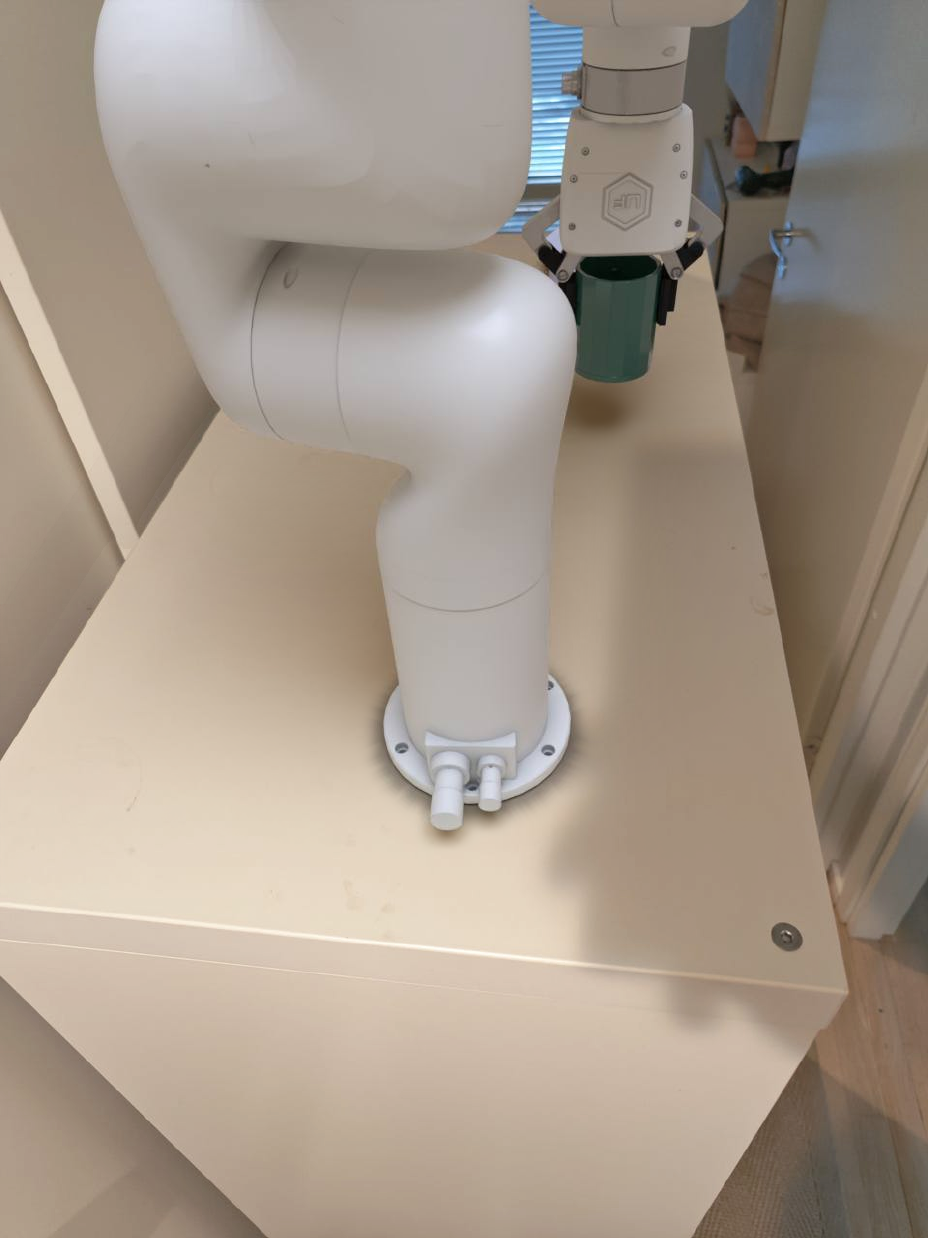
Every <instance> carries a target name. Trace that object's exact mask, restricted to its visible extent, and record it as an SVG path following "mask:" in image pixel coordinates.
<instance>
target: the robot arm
mask: <svg viewBox="0 0 928 1238" xmlns="http://www.w3.org/2000/svg"><path fill="white" fill-rule="evenodd" d="M748 3H749V0H104V1H103V4H102V7H101V9H100V13H99V16H98V20H97V25H96V31H95V36H94V47H93V81H94V82H93V83H94V94H95V95H94V96H95V107H96V113H97V118H98V125H99V128H100V133H101V138H102V142H103V143H102V144H103V147H104V150H105V153H106V156H107V160H108V163H109V166H110V169H111V172H112V175H113V177H114V180H115V182H116V185H117V187H118V190H119V192H120V195H121V197H122V200H123V202H124V205H125V208H126V209H127V212H128V215H129V217H130V219H131V222H132V224H133V227H134V228H135V230H136V233H137V236H138V237H139V240H140V242H141V244H142V247H143V249H144V251H145V254H146V255H147V258H148V260H149V263H150V265H151V267H152V270H153V271H154V274H155V276H156V278H157V281H158V283H159V286H160V288H161V290H162V292H163V295H164V296H165V299H166V301H167V304H168V306H169V309H170V310H171V313H172V315H173V317H174V319H175V322H176V324H177V327H178V328H179V331H180V334H181V336H182V338H183V340H184V342H185V345H186V347H187V349H188V352H189V354H190V356H191V358H192V360H193V362H194V365H195V366H196V369H197V371H198V374H199V375H200V377H201V380H202V381H203V383H204V385H205V387H206V389H207V391H208V392H209V394H210V396H211V397H212V399H213V401H215V403H216V405H218V407H219V408H220V410H221V411H222V412H223V413H224V415H226V416H227V417H228V418H229V419H230V420H231V421H232V422H233V423H235V424H236V425H237V426H238V427H240V428H241V429H243V430H245V431H247V432H249V433H251V434H253V435H256V436H259V437H262V438H266V439H269V440H273V441H278V442H283V443H289V444H294V445H299V446H304V447H311V448H317V449H324V450H329V451H336V452H341V453H347V454H353V455H360V456H364V457H366V458H369V459H376V460H381V461H386V462H391V463H394V464H396V465H399V466H401V467H403V468H405V469H406V471H405V472H404V473H403V474H402V475H401V476H400V478H399V479H398V480H397V481H396V482H395V484H394V485H393V486H392V487H391V489H390V490H389V492H388V493H387V495H386V497H385V499H384V500H383V503H382V504H381V506H380V509H379V512H378V516H377V520H376V523H375V524H376V525H375V547H376V554H377V555H376V556H377V560H378V566H379V570H380V577H381V583H382V589H383V594H384V601H385V606H386V607H385V608H386V613H387V619H388V625H389V630H390V637H391V642H392V648H393V655H394V661H395V667H396V672H397V678H398V684H397V686H396V687H395V688H394V690H393V692H392V693H391V694H390V697H389V699H388V701H387V703H386V706H385V710H384V716H383V721H382V722H383V723H382V725H383V726H382V727H383V737H384V741H385V745H386V750H387V753H388V756H389V757H390V760H391V761H392V763H393V765H394V766H395V768H396V769H397V770H398V771H399V773H400V774H401V775H402V777H404V778H405V779H406V780H407V781H408V782H409V783H411V784H412V785H413V786H414V787H416V788H417V789H419V790H421V791H422V792H425V793H426V794H429V795H430V796H431V803H430V813H429V823H430V825H431V826H432V827H433V828H435V829H438V830H441V831H453V830H458V829H460V828H461V827H462V825H463V821H464V820H463V818H464V805H465V804H467V805H469V804H471V805H472V804H473V805H474V804H477V805H478V807H479V809H480V810H482V811H484V812H497V811H498V810H500V809H501V807H502V801H506V800H509V799H512V798H513V797H517V796H519V795H522V794H524V793H526V792H528V791H529V790H531V789H533V788H535V787H536V786H538V785H539V784H541V783H542V782H543V781H544V780H546V778H547V777H548V776H550V775H551V774H552V773H553V772H554V770H555V769H556V767H557V766H558V765H559V764H560V762H561V761H562V759H563V757H564V755H565V753H566V750H567V748H568V745H569V740H570V736H571V721H572V716H571V711H570V704H569V702H568V699H567V696H566V694H565V692H564V690H563V688H562V687H561V685H560V684H559V682H558V681H557V680H556V678H554V676H553V675H551V674H550V672H549V670H550V667H549V666H550V665H549V664H550V627H551V626H550V622H551V621H550V620H551V584H552V583H551V581H552V580H551V579H552V578H551V576H552V531H553V530H552V529H553V528H552V527H553V526H552V525H553V506H554V505H553V504H554V493H555V492H554V491H555V480H556V473H557V465H558V459H559V453H560V446H561V441H562V435H563V430H564V425H565V421H566V415H567V411H568V407H569V401H570V397H571V392H572V388H573V382H574V377H575V371H574V370H575V363H576V356H577V328H576V322H575V317H574V313H575V290H576V281H575V272H573V271H574V270H575V268H576V266H577V265H578V263H579V261H580V259H581V258H582V256H633V255H653V256H656V255H657V256H658V255H659V256H660V258H661V259H660V260H661V264H662V267H663V268H662V277H661V285H660V294H659V303H658V312H657V321H656V325H658V326H659V327H660V326H661V327H663V326H664V327H665V326H666V325H667V317H668V313H669V312H670V313H673V312H674V311H675V308H676V301H677V300H676V299H677V291H678V283H679V280H680V279H681V278H682V277H683V276H684V273H685V271H686V270H687V269H689V268H690V267H691V266H692V265H693V264H695V262H697V261H698V259H700V258H701V257H702V256H703V254H704V251H706V249H707V248H709V247H710V246H711V245H712V244H713V242H715V240H716V239H717V238H718V237H719V236H720V235H721V234H722V232H723V231H724V229H725V228H724V224H723V222H722V219H721V218H720V217H719V216H718V215H717V214H716V213H715V212H713V211H712V210H711V209H710V208H709V207H708V206H707V205H706V204H704V202H702V201H701V200H700V199H699V198H697V196H696V195H694V194H693V193H692V186H693V171H694V170H693V169H694V146H695V145H694V140H695V139H694V138H695V137H694V116H693V110H692V109H691V108H690V107H689V105H687V104H686V103H683V101H684V100H683V98H684V92H685V91H684V90H685V81H686V74H687V73H686V71H687V63H688V56H689V48H690V38H691V37H690V36H691V31H692V29H691V28H710V27H715V26H719V25H721V24H724V23H726V22H728V21H730V20H732V19H733V18H734V17H736V16H737V15H739V13H741V11H742V10H743V9H744V8H745V6H746V5H747V4H748ZM530 5H531V6H532V8H533V9H534V10H535V11H536V13H538V15H539V16H540V17H542V18H543V19H545V20H546V21H548V22H550V23H552V24H555V25H559V26H565V27H572V28H573V27H574V28H575V27H576V28H582V44H581V45H582V48H581V59H580V60H581V61H580V62H581V63H580V65H578V66H577V67H576V68H577V69H576V70H571V72H562V73H561V88H560V89H561V92H560V93H561V95H571V97H576V100H577V101H580V103H579V105H577V106H575V107H574V108H573V109H572V110H571V113H570V117H569V121H568V125H567V130H566V135H565V142H564V151H563V158H562V166H561V178H560V191H559V192H560V193H558V195H557V196H555V197H554V198H553V199H552V200H550V201H549V202H548V203H547V204H546V205H544V206H543V207H542V208H541V209H540V210H539V211H538V212H536V213H535V214H534V215H533V216H531V217H530V218H529V219H528V220H527V221H525V223H524V224H523V225H521V226H522V227H521V236H522V239H523V240H524V241H525V243H526V244H527V246H528V247H529V248H530V249H531V250H532V252H533V253H534V254H535V255H536V256H537V258H538V260H539V261H540V262H541V263H542V264H543V265H544V266H545V268H547V269H548V271H549V270H550V271H551V272H552V273H553V274H554V275H555V276H556V279H557V280H558V285H557V284H556V283H555V282H554V281H553V280H552V279H550V278H549V275H546V274H545V273H544V272H543V271H540V270H539V269H537V268H536V267H534V266H531V265H529V264H527V263H525V262H522V261H519V260H516V259H513V258H509V257H505V256H502V255H499V254H495V253H490V252H483V251H477V250H469V249H468V250H467V249H458V248H465V247H469V246H473V245H476V244H479V243H480V242H482V241H484V240H487V239H489V238H491V237H492V236H494V235H496V234H497V233H498V232H499V231H500V230H502V229H503V227H504V226H505V225H506V224H507V223H508V222H509V221H510V220H511V219H512V217H513V216H514V215H515V213H516V211H517V209H518V207H519V205H520V202H521V200H522V198H523V196H524V193H525V191H526V186H527V184H528V183H527V182H528V178H529V175H530V167H531V162H532V159H531V158H532V146H533V145H532V144H533V74H532V73H533V72H532V71H533V70H532V41H531V12H530V11H531V10H530V7H531V6H530ZM690 219H691V220H692V221H693V222H694V223H696V225H698V226H699V228H698V230H697V231H695V234H693V235H692V236H691V237H690V238H688V239H687V235H688V230H689V224H690V223H689V222H690ZM556 222H558V227H559V234H560V242H561V245H562V250H561V252H559V251H558V250H557V249H556V248H555V247H554V246H553V245H552V244H551V243H550V242H549V241H547V239H546V236H545V234H544V233H545V232H546V231H547V230H548V229H549V228H550V227H552V226H553V225H554V224H555V223H556Z"/></svg>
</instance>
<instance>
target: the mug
mask: <svg viewBox="0 0 928 1238" xmlns="http://www.w3.org/2000/svg"><path fill="white" fill-rule="evenodd" d="M662 268H663V267H662V260H661V259H659V258H657V257H656V255H633V256H582V258H581V259H580V261H579V263H578V265H577V266H576V268H575V281H576V290H575V313H574V317H575V322H576V328H577V356H576V363H575V370H574V373H576V375H578V376H580V377H581V378H583V379H586V380H588V381H592V382H597V383H601V384H620V383H621V384H622V383H627V382H632V381H635V380H638V379H640V378H642V377H644V376H645V375H646V374H648V372H649V371H650V369H651V367H652V362H653V356H654V345H655V337H656V330H657V322H656V321H657V312H658V303H659V294H660V285H661V277H662Z"/></svg>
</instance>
